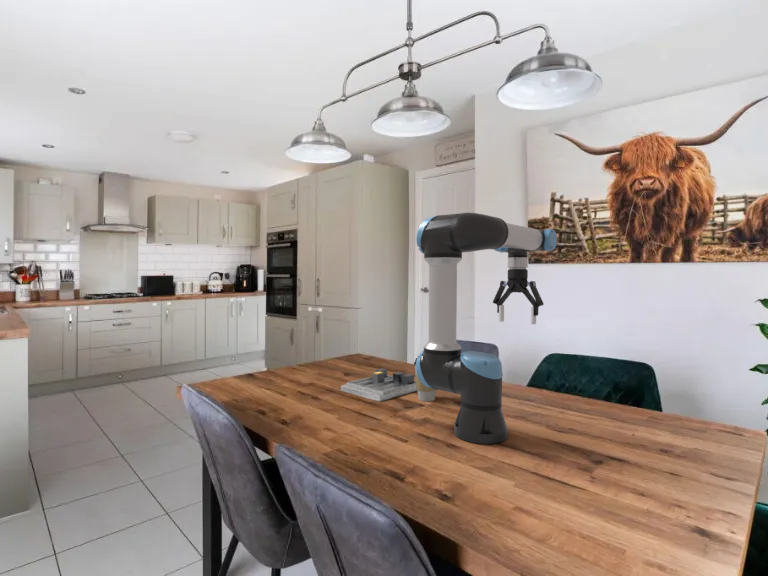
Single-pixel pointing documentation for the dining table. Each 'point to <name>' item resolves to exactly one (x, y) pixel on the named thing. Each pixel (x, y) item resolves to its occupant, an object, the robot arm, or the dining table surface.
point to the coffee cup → (424, 390)
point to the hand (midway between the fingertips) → (517, 322)
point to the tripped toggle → (377, 377)
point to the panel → (382, 386)
